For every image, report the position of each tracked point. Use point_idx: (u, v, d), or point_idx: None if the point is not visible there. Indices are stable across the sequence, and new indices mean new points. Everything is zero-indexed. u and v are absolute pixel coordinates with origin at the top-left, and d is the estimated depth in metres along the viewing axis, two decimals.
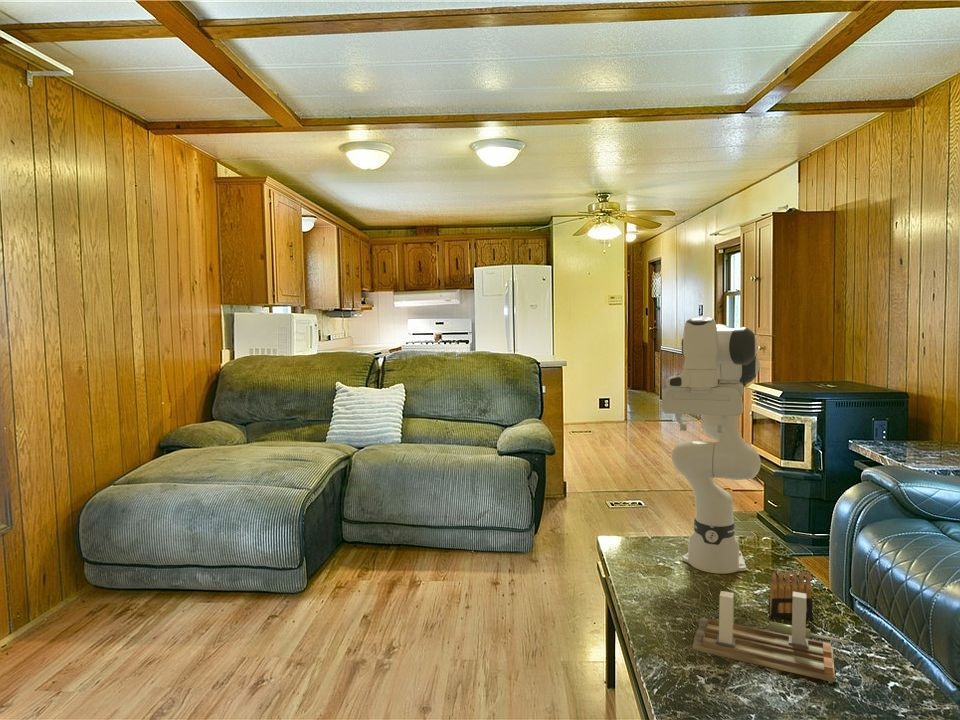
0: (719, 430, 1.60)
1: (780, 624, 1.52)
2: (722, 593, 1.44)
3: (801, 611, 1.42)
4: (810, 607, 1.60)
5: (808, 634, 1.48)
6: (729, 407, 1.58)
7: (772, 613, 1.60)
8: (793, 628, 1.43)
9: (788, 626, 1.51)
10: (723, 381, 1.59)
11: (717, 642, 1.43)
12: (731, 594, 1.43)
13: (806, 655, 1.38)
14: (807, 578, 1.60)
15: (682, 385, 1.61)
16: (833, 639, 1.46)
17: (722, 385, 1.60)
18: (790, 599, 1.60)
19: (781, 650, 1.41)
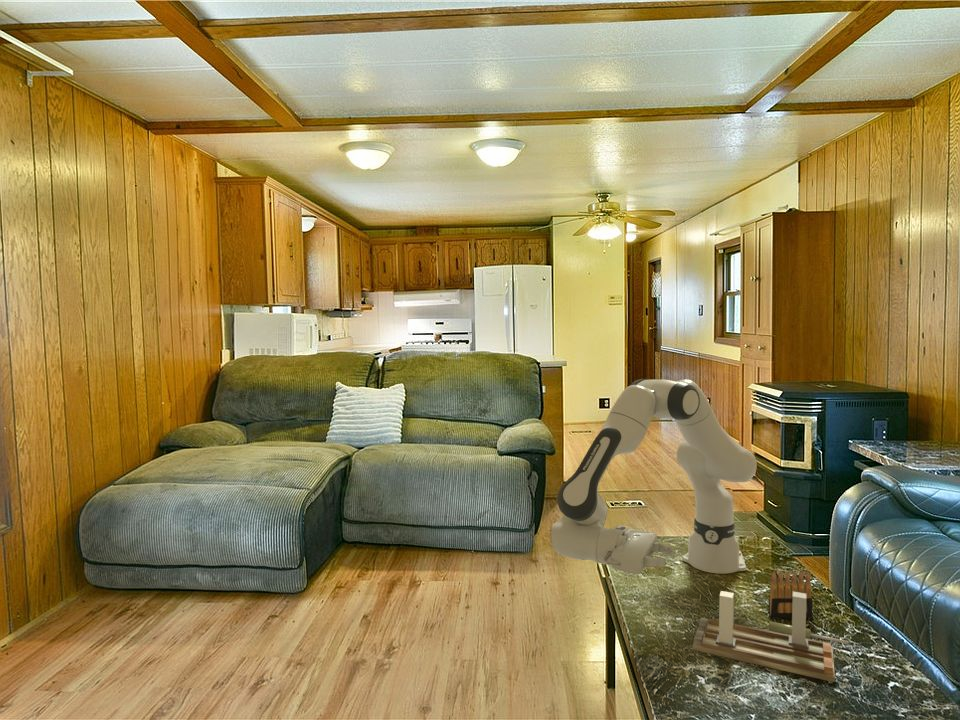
0: None
1: (780, 624, 1.51)
2: (722, 593, 1.44)
3: (801, 611, 1.42)
4: (810, 607, 1.60)
5: (808, 635, 1.48)
6: None
7: (772, 613, 1.60)
8: (793, 628, 1.43)
9: (788, 627, 1.51)
10: None
11: (717, 642, 1.43)
12: (731, 594, 1.43)
13: (806, 655, 1.38)
14: (807, 578, 1.60)
15: None
16: (833, 639, 1.46)
17: None
18: (790, 599, 1.60)
19: (781, 650, 1.41)
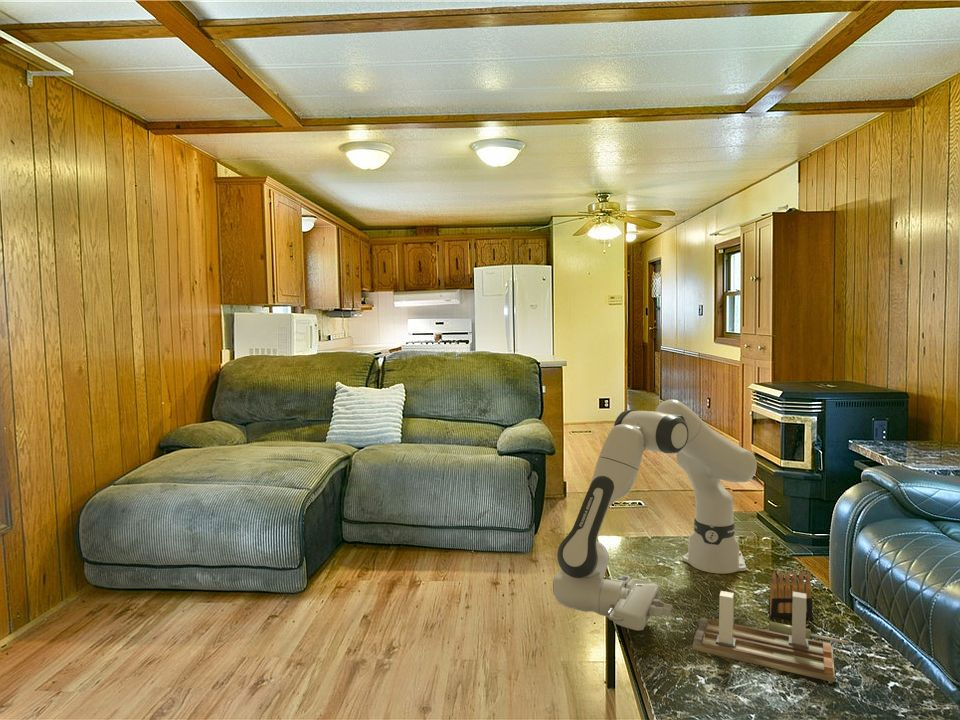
0: None
1: (780, 625, 1.51)
2: (722, 593, 1.44)
3: (801, 611, 1.42)
4: (810, 607, 1.60)
5: (808, 635, 1.48)
6: None
7: (772, 613, 1.60)
8: (793, 628, 1.43)
9: (788, 627, 1.50)
10: None
11: (717, 642, 1.43)
12: (731, 594, 1.43)
13: (806, 655, 1.38)
14: (807, 578, 1.60)
15: None
16: (833, 640, 1.46)
17: None
18: (790, 599, 1.60)
19: (781, 650, 1.41)
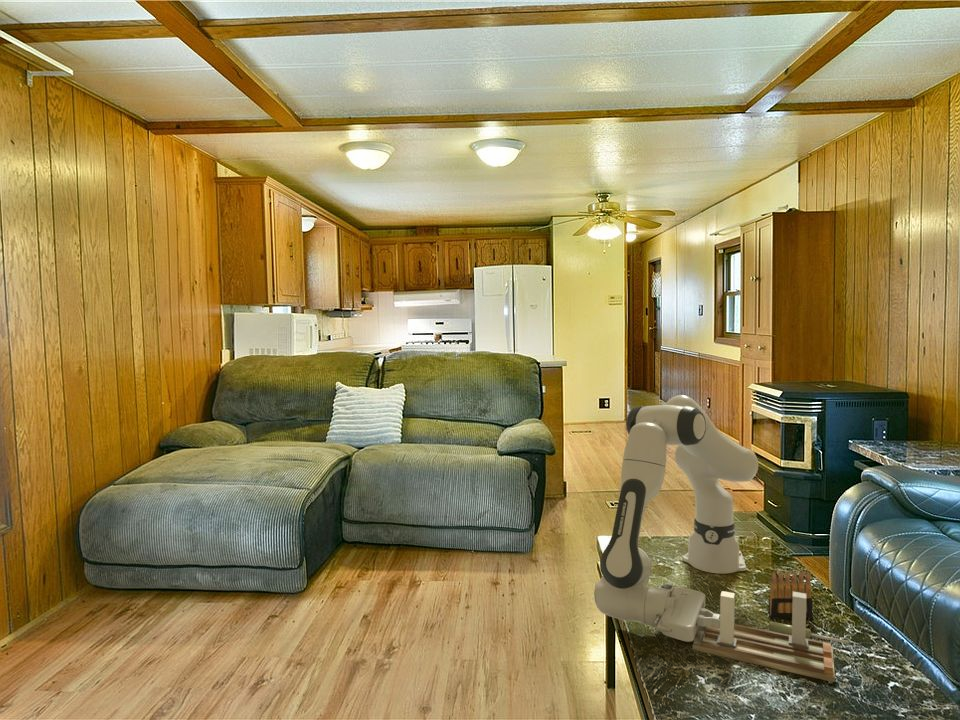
0: None
1: (780, 624, 1.52)
2: (723, 593, 1.44)
3: (801, 611, 1.42)
4: (810, 607, 1.60)
5: (808, 634, 1.48)
6: None
7: (772, 613, 1.60)
8: (793, 628, 1.43)
9: (788, 626, 1.51)
10: None
11: (718, 642, 1.43)
12: (732, 594, 1.43)
13: (806, 655, 1.38)
14: (807, 578, 1.60)
15: None
16: (833, 639, 1.46)
17: None
18: (790, 599, 1.60)
19: (781, 650, 1.41)
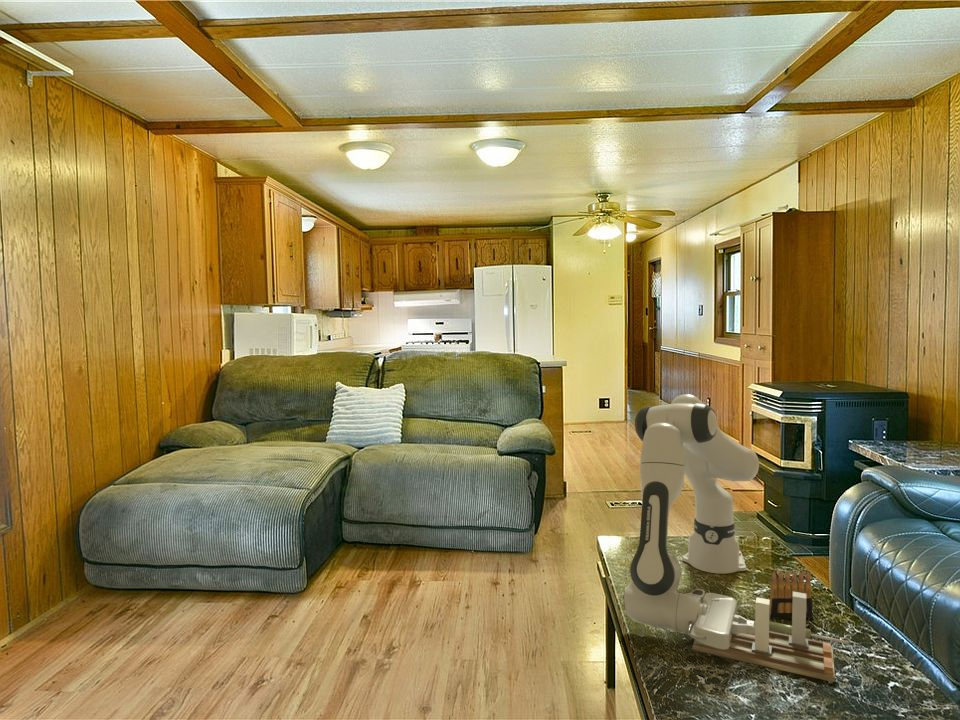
0: None
1: (780, 625, 1.51)
2: (758, 600, 1.40)
3: (801, 611, 1.42)
4: (810, 607, 1.60)
5: (808, 635, 1.48)
6: None
7: (772, 613, 1.60)
8: (793, 628, 1.43)
9: (788, 627, 1.50)
10: None
11: (753, 650, 1.40)
12: (767, 601, 1.40)
13: (806, 655, 1.38)
14: (807, 578, 1.60)
15: None
16: (833, 640, 1.46)
17: None
18: (790, 599, 1.60)
19: (781, 650, 1.41)
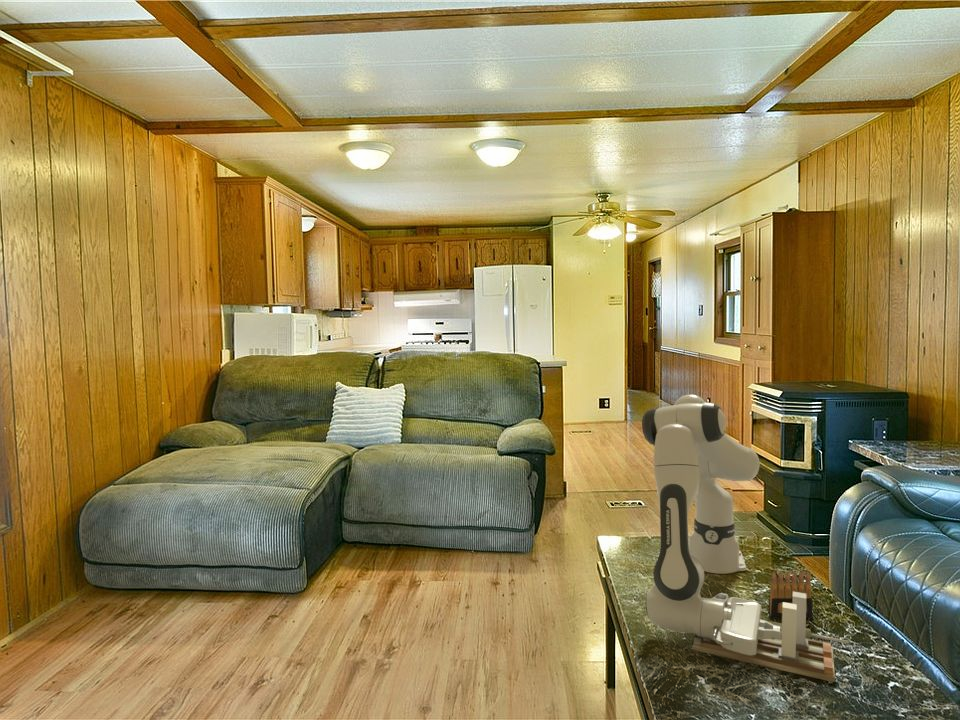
0: None
1: (780, 624, 1.52)
2: (785, 605, 1.38)
3: (801, 611, 1.42)
4: (810, 607, 1.60)
5: (808, 634, 1.48)
6: None
7: (772, 613, 1.60)
8: None
9: None
10: None
11: (779, 656, 1.37)
12: (794, 606, 1.37)
13: (806, 655, 1.38)
14: (807, 578, 1.60)
15: None
16: (833, 639, 1.46)
17: None
18: (790, 599, 1.60)
19: None
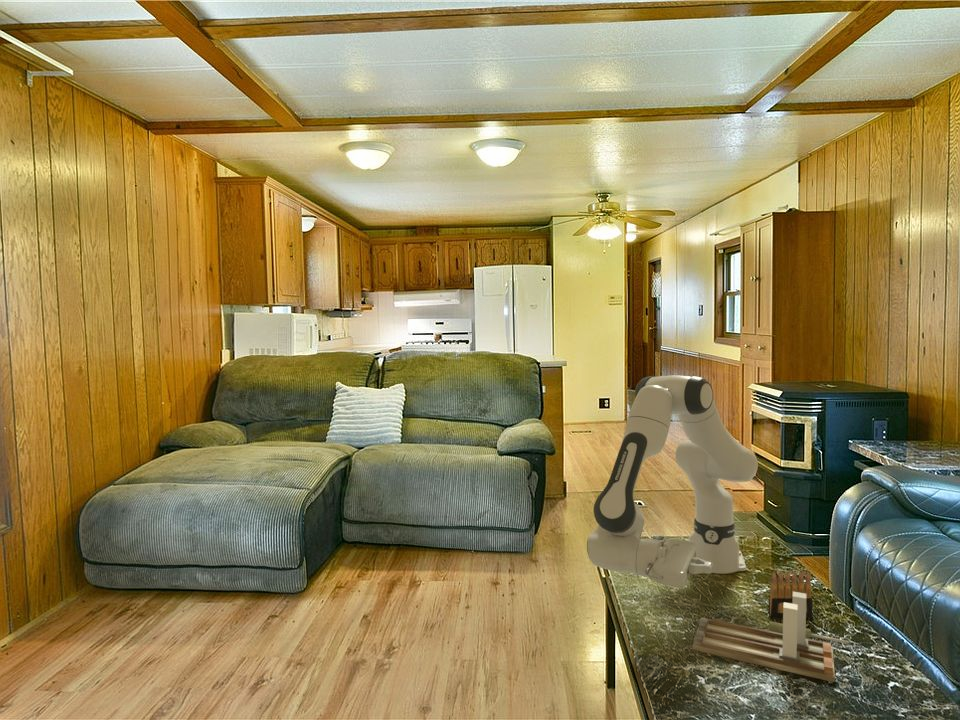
0: None
1: (780, 624, 1.52)
2: (786, 605, 1.38)
3: (801, 611, 1.42)
4: (810, 607, 1.60)
5: (808, 634, 1.48)
6: None
7: (772, 613, 1.60)
8: None
9: None
10: None
11: (780, 656, 1.37)
12: (795, 606, 1.37)
13: (806, 655, 1.38)
14: (807, 578, 1.60)
15: None
16: (833, 639, 1.46)
17: None
18: (790, 599, 1.60)
19: None
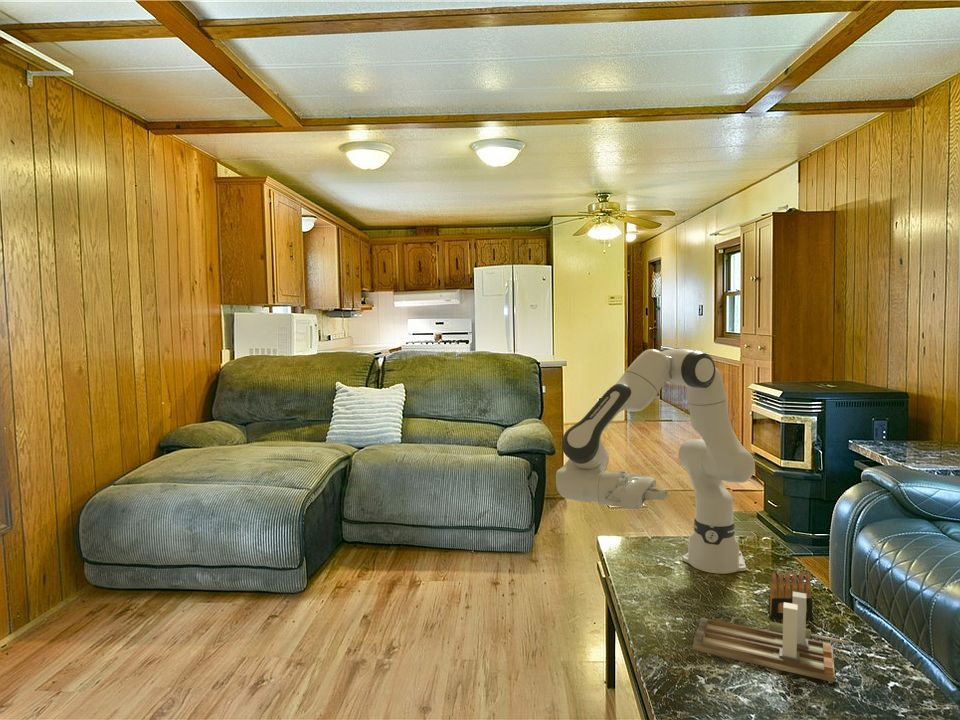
0: None
1: (780, 625, 1.51)
2: (786, 605, 1.38)
3: (801, 611, 1.42)
4: (810, 607, 1.60)
5: (808, 635, 1.48)
6: None
7: (772, 613, 1.60)
8: None
9: None
10: None
11: (780, 656, 1.37)
12: (795, 606, 1.37)
13: (806, 655, 1.38)
14: (807, 578, 1.60)
15: None
16: (833, 640, 1.46)
17: None
18: (790, 599, 1.60)
19: None
